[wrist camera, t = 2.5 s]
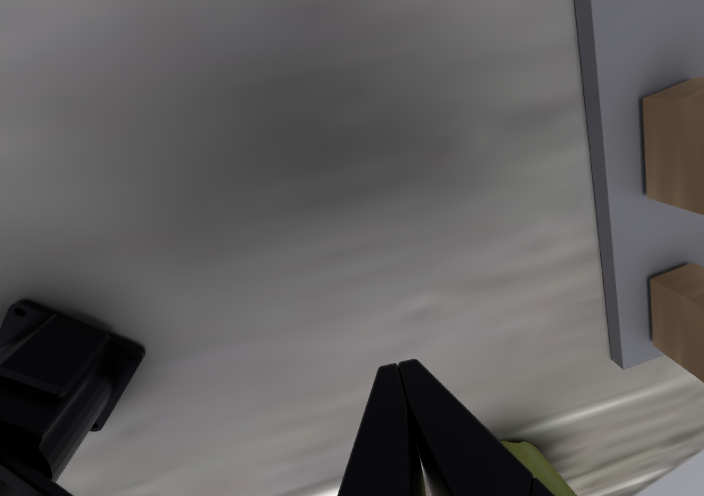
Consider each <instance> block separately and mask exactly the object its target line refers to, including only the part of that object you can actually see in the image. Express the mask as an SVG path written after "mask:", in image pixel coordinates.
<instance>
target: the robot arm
mask: <svg viewBox="0 0 704 496" xmlns="http://www.w3.org/2000/svg"><path fill="white" fill-rule="evenodd" d="M21 308H22V309H24V310H25V311H26V312H24V311H22V310H21ZM131 353H133V354H135V355H137V356H133V355H132V354H131ZM144 356H145V350H144V349H143V348H142V347H140V346H139V345H136V344H134V343H131V342H129V341H126V340H124V339H122V338H119V337H117V336H114V335H112V334H109V333H107V332H105V331H102V330H100V329H97V328H95V327H92V326H90V325H88V324H85V323H83V322H80V321H78V320H75V319H73V318H71V317H68V316H66V315H63V314H61V313H58V312H56V311H53V310H51V309H49V308H46V307H44V306H41V305H39V304H36V303H34V302H32V301H29V300H25V299H24V300H19V301H17V302H15V303H14V304H12V305H11V306H10V308H9V309H8V312H7V314H6V316H5V319H4V321H3V323H2V326H1V328H0V496H73V495H72V494H71V493H69V492H68V491H67V490H65V489H64V488H63V487H61V486H60V485H59V484H57V483H56V481H57V480H58V478H59V476H60V475H61V473H62V472H63V470H64V469H65V467H66V466H67V464H68V463H69V461H70V460H71V458H72V456H73V455H74V453H75V452H76V450H77V449H78V447H79V446H80V444H81V443H82V441H83V440H84V438H85V437H86V435H87V433H88V432H89V431H93V432H95V431H99V430H101V429H102V427H103V426H104V424H105V423H106V421H107V419H108V417H109V416H110V414H111V412H112V411H113V409H114V407H115V405H116V404H117V402H118V400H119V399H120V397H121V395H122V394H123V392H124V390H125V388H126V387H127V385H128V383H129V382H130V380H131V378H132V376H133V375H134V373H135V371H136V370H137V368H138V366H139V364H140V363H141V361H142V359H143V358H144ZM398 367H399V368H398ZM399 371H400V372H399ZM418 451H419V452H418ZM419 455H420V456H419ZM420 459H421V461H420ZM421 463H422V466H421ZM422 467H423V470H424V473H425V476H426V479H427V482H428V485H429V488H430V490H431V493H432V496H555V495H554V494H553V493H552V492H551V491H550V490H549V489H548V488H547V487H546V486H545V485H544V484H543V483H542V482H541V481H540V480H539V479H538V478H536V477H535V478H534V476H533V473H532V472H531V471H530V470H529V469H528V468H527V467H526V466H525V465H524V464H523V463H522V462H521V461H520V460H519V459H517V458H516V457H515V456H514V455H513V454H512V453H511V452H510V451H509V450H508V449H507V448H506V447H505V446H504V445H503V444H502V443H501V442H500V441H499V440H498V439H497V438H496V437H495V436H494V435H493V434H492V433H491V432H490V431H489V430H488V429H487V428H486V427H485V426H484V425H483V424H482V423H481V422H480V421H479V420H478V419H477V418H476V417H475V416H474V415H473V414H472V413H471V412H470V411H469V410H468V409H467V408H466V407H465V406H464V405H463V404H462V403H461V402H460V401H459V400H458V399H457V398H456V397H455V396H454V395H453V394H452V393H451V392H450V391H448V390H447V389H446V388H445V387H444V386H443V385H442V384H441V383H440V382H439V381H438V380H437V379H436V378H435V377H434V376H433V375H432V374H431V373H430V372H429V371H428V370H427V369H426V368H425V367H424V366H423V365H422V364H421V363H420V362H419V361H418V360H417V359H411V360H406V361H402V362H399V364H398V365H397V364H396V363H393V364H388V365H384V366H380V367H379V368H378V371H377V374H376V377H375V380H374V383H373V386H372V389H371V393H370V396H369V399H368V402H367V405H366V408H365V411H364V414H363V418H362V421H361V424H360V427H359V430H358V433H357V436H356V439H355V442H354V446H353V449H352V452H351V455H350V458H349V461H348V464H347V467H346V470H345V474H344V477H343V480H342V483H341V486H340V489H339V492H338V495H337V496H426V491H425V483H424V477H423V470H422Z"/></svg>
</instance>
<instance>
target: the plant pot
mask: <svg viewBox="0 0 704 496" xmlns="http://www.w3.org/2000/svg"><path fill="white" fill-rule="evenodd" d="M501 443H502V444H503V445H504V446H505V447H506V448H507V449H508V450H509V451H510V452H511V453H512V454H513V455H514V456H515V457H516V458H517V459H519V460H520V461H521V462H522V463H523V464H524V465H525V466H526V467H527V468H528V469H529V470H530V471H531V472H532V473H533V476H534V478H535V477H536V478H538V479H539V480H540V481H541V482H542V483H543V484H544V485H545V486H546V487H547V488H548V489H549V490H550V491H551V492H552V493H553V494H554V495H555V496H577V495H576V494H575V493H574V491H573V490H572V489H571V488H570V487H569V486H568V484H567V483H566V482H565V481H564V480H563V479H562V477H561V476H560V475H559V474H558V473H557V471H556V470H555V469H554V468H553V467H552V465H551V464H550V463H549V462H548V461H547V459H546V458H545V457H544V456H543V455H542V454H541V453H540V451H539V450H538V449H537V448H536V447H535V446H533V445H532V444H530V443H528V442H525V441H522V442H521V443H511V442H507V441H501Z"/></svg>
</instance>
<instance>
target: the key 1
mask: <svg viewBox="0 0 704 496" xmlns="http://www.w3.org/2000/svg"><path fill="white" fill-rule="evenodd" d="M650 285H651V309H652V332H653V346H654V347H656V348H657V349H659V350H660V351H661V352H663V353H664V354H665V355H667V356H668V357H670V358H671V359H672V360H674V361H675V362H676V363H678V364H679V365H681V366H682V367H683V368H685V369H686V370H687V371H689V372H690V373H692V374H693V375H694V376H696V377H697V378H698V379H700V380H701V381H703V382H704V267H703V266H700V265H698V264H696V263H694V262H693V263H691V264H688V265H685V266H683V267H680V268H677V269H675V270H672V271H669V272H667V273H664V274H661V275H659V276H656V277H653V278H651V279H650Z"/></svg>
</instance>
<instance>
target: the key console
mask: <svg viewBox="0 0 704 496" xmlns="http://www.w3.org/2000/svg"><path fill="white" fill-rule="evenodd" d="M575 10H576V20H577V29H578V39H579V49H580V58H581V68H582V78H583V88H584V97H585V107H586V117H587V126H588V136H589V146H590V155H591V165H592V175H593V184H594V194H595V204H596V213H597V223H598V233H599V242H600V252H601V262H602V271H603V281H604V291H605V300H606V310H607V320H608V329H609V339H610V349H611V358H612V360H613V361H614V362H615V363H616V364H617V365H618V366H620V367H621V368H622V369H623V370H624V369H627V368H630V367H632V366H635V365H638V364H641V363H643V362H646V361H649V360H652V359H654V358H657V357H660V356H662V355H665V354H664V353H663V352H661V351H660V350H659V349H657V348H656V347H654V346H653V332H652V309H651V285H650V279H651V278H653V277H656V276H659V275H661V274H664V273H667V272H669V271H672V270H675V269H677V268H680V267H683V266H685V265H688V264H691V263H693V262H694V263H696V264H698V265H700V266H703V267H704V215H701V214H698V213H694V212H691V211H688V210H685V209H681V208H678V207H675V206H672V205H668V204H665V203H662V202H659V201H655V200H652V199H649V198H647V189H646V165H645V142H644V118H643V98H645V97H647V96H650V95H652V94H655V93H657V92H660V91H662V90H665V89H667V88H670V87H672V86H675V85H677V84H680V83H683V82H685V81H688V80H690V79H693V78H695V77H704V0H575Z"/></svg>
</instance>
